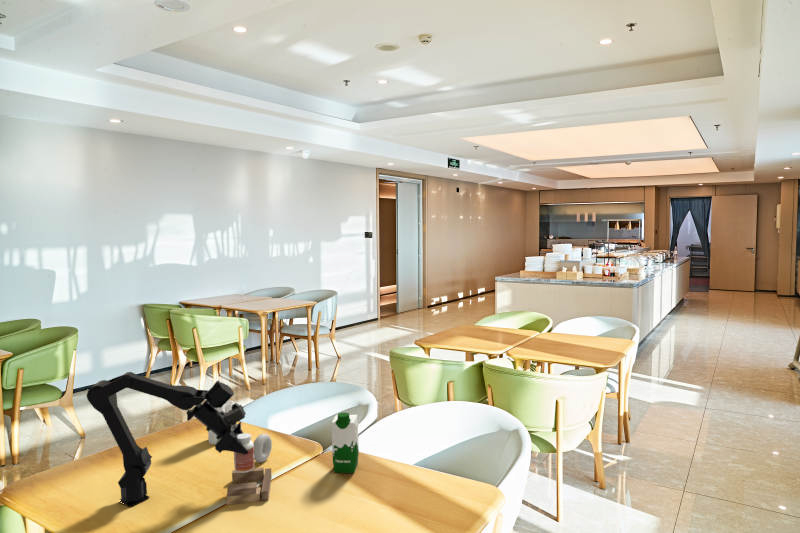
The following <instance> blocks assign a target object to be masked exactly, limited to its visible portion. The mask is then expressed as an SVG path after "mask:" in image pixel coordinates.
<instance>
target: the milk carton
mask: <svg viewBox="0 0 800 533" xmlns="http://www.w3.org/2000/svg"><path fill="white" fill-rule="evenodd" d="M358 422H359V421H358V414H350V413H348V412H340V413H338V414H336V415H335V416H334V417H333V419H332V421H331V450H332V451H331V452H332V454H331V456H332V465H333V473H335V474H355V471H356V469H357V467H358V466H359V465H358V462H359V455H360V454H359V453H360V451H359V423H358Z"/></svg>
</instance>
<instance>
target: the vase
mask: <svg viewBox="0 0 800 533" xmlns="http://www.w3.org/2000/svg"><path fill="white" fill-rule="evenodd" d="M233 404H234V401H233V400H228V401H227V402H226V403H225V404H224V405H223V406H222V407H221V408H219V407H218V408H215V409H216V410H218V411H219V412H221V411H223V412H225V413H227V412H229V411H230V410H232V405H233ZM207 435H208V444H210V445H215V444H216V442H217V440H218V439H217V438H216V436H217V435H216V434H214V433H213V432H212V431H211V430H209V431H207Z"/></svg>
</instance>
